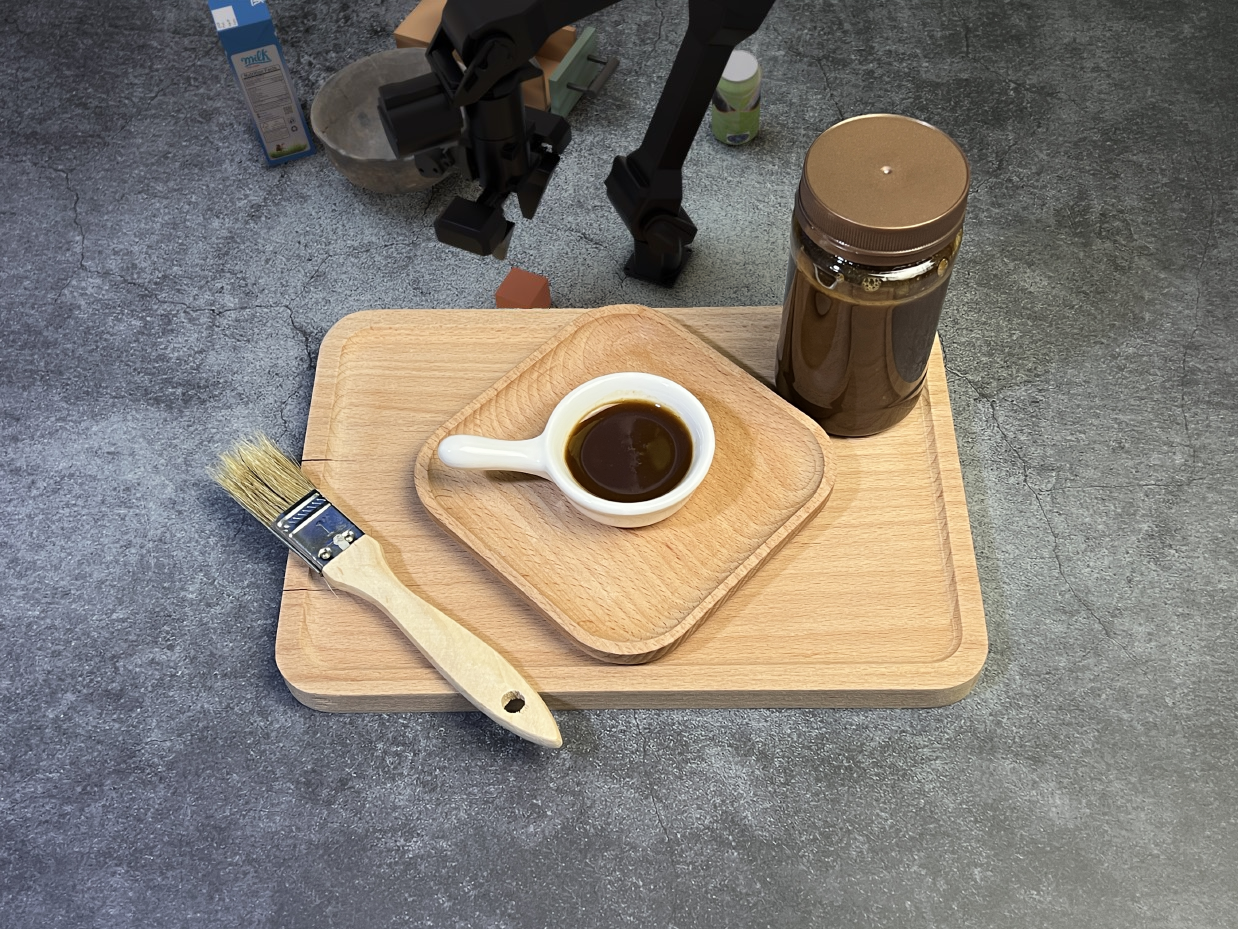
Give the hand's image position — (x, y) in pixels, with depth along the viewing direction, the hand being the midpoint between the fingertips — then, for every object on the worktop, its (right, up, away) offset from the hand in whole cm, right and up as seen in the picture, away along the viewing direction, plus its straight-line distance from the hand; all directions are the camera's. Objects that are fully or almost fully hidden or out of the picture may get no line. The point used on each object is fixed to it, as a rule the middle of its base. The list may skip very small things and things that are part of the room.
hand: (514, 238), depth 117 cm
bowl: (-16, +14, +24) cm, 32 cm away
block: (0, -7, +10) cm, 12 cm away
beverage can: (+26, +18, +25) cm, 40 cm away
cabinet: (-8, +29, +33) cm, 45 cm away
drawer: (+2, +26, +30) cm, 40 cm away
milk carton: (-33, +19, +28) cm, 47 cm away
